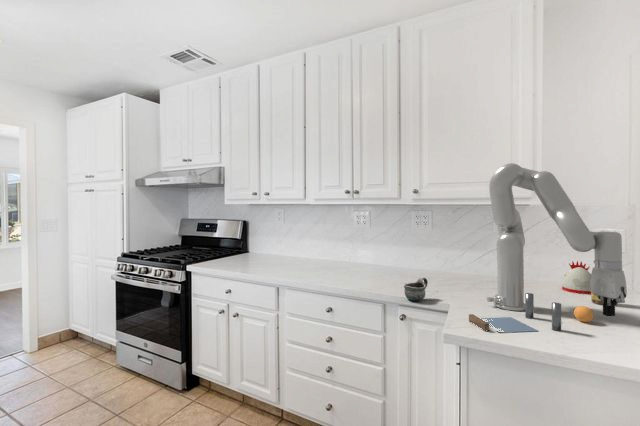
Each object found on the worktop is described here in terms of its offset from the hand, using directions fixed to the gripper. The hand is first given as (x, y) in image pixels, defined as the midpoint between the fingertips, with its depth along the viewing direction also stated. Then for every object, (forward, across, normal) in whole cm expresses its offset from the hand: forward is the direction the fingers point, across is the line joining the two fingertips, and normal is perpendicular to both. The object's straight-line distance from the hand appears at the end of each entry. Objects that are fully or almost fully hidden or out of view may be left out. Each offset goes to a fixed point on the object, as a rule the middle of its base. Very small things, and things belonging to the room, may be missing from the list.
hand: (609, 315), depth 118 cm
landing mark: (+2, 0, -40) cm, 40 cm away
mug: (+1, -35, -59) cm, 69 cm away
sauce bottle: (+2, -20, +17) cm, 27 cm away
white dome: (+2, -41, +27) cm, 49 cm away
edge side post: (+2, +6, -26) cm, 27 cm away
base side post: (+2, -7, -26) cm, 27 cm away
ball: (-1, 0, -10) cm, 10 cm away
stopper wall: (+2, 0, -50) cm, 50 cm away
